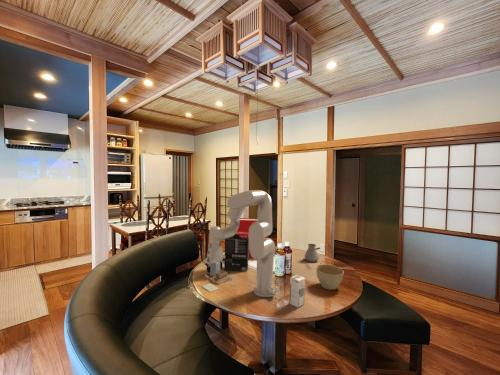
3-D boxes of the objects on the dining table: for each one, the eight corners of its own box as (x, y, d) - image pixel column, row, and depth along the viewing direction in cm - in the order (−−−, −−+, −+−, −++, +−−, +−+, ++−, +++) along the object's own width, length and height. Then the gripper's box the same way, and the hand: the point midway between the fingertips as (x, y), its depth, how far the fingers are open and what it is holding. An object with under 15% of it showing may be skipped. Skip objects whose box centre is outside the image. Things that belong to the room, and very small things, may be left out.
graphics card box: (248, 268, 171) (249, 231, 169) (247, 271, 164) (248, 233, 163) (225, 266, 172) (226, 230, 171) (223, 270, 165) (224, 232, 164)
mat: (218, 289, 137) (218, 288, 137) (210, 292, 133) (210, 291, 133) (210, 283, 144) (210, 283, 144) (201, 286, 140) (201, 286, 140)
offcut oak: (229, 280, 151) (229, 276, 151) (219, 283, 145) (219, 279, 145) (225, 277, 154) (225, 274, 154) (215, 281, 148) (215, 277, 148)
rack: (232, 279, 150) (232, 276, 150) (218, 284, 143) (218, 281, 143) (216, 271, 163) (216, 268, 163) (203, 275, 156) (203, 272, 156)
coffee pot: (302, 258, 194) (302, 240, 193) (315, 257, 195) (315, 240, 195) (312, 267, 173) (313, 248, 172) (326, 267, 174) (327, 247, 174)
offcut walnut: (227, 276, 151) (227, 272, 150) (220, 279, 146) (220, 275, 146) (223, 274, 153) (223, 270, 153) (215, 277, 148) (216, 273, 148)
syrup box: (295, 300, 126) (296, 274, 126) (304, 304, 122) (305, 277, 122) (289, 303, 123) (289, 276, 122) (298, 308, 118) (299, 280, 118)
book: (266, 255, 198) (267, 218, 197) (267, 258, 190) (267, 220, 189) (235, 254, 199) (235, 218, 198) (234, 258, 191) (234, 219, 190)
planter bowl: (325, 294, 133) (326, 275, 133) (310, 282, 149) (311, 265, 148) (349, 291, 138) (349, 273, 137) (332, 279, 153) (333, 263, 153)
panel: (220, 277, 154) (220, 262, 153) (216, 278, 152) (216, 263, 151) (213, 273, 160) (213, 259, 159) (209, 274, 158) (209, 260, 157)
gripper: (206, 248, 146) (206, 275, 147) (228, 244, 158) (228, 268, 159) (200, 246, 152) (200, 271, 152) (222, 241, 163) (221, 265, 164)
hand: (214, 270), depth 156 cm, fingers open, 9 cm apart
